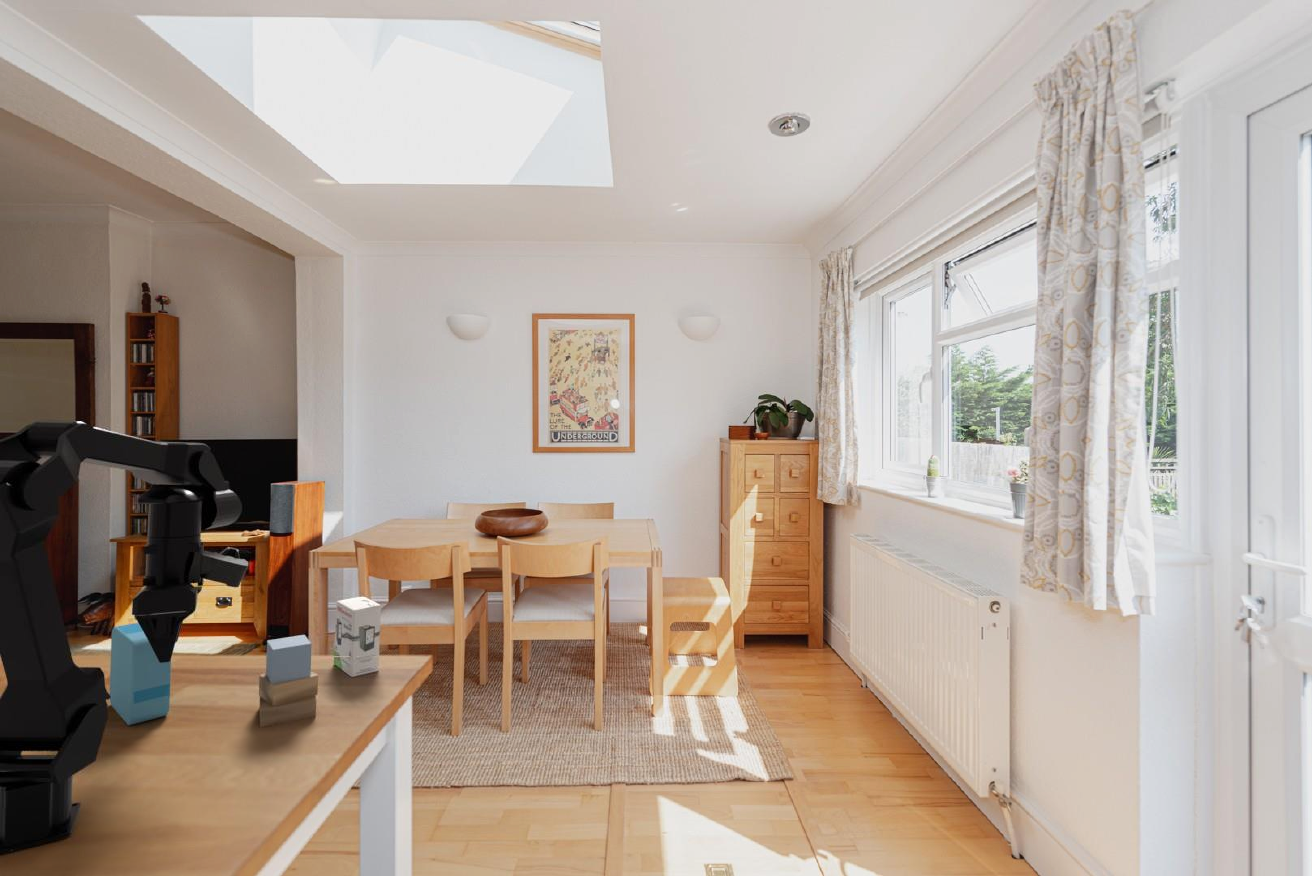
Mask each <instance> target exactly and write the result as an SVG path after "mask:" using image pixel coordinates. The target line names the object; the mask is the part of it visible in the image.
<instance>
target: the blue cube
mask: <svg viewBox="0 0 1312 876" xmlns="http://www.w3.org/2000/svg"><path fill="white" fill-rule="evenodd" d="M265 659H266V661H265V663H266V664H265V674H266V675H267V677H268V678H269V680H270V682H271V684H276V683H281V682H286V681H291V680H296V679H301V678H306V677H310V676H311V671H312V670H311V668H312V642H311V640H310V639H308V637H307V636H306V635H305V634H300V635H294V636H288V637H287V636H286V637H282V638H281V637H280V638H276V639H275V638H274V639H268V640H266V658H265Z"/></svg>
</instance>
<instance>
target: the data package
mask: <svg viewBox="0 0 1312 876" xmlns="http://www.w3.org/2000/svg"><path fill="white" fill-rule="evenodd" d="M110 638H111V641H110V642H111V645H110V668H109V669H110V670H109V671H110V673H109V695H110V696H111V698H110V699H109V703H110V706H111V707H112V708H113V709H114V711H115V712H116V713H117V714H118V715H119V716H120V718H121V719H122V720H123V721H124V722H125V724H127V725H128V726H132V725H135V724H140V723H143V722H146V721H152V720H155V719H157V718H162V717H165V716H168V714H169V712H170V707H171V706H170V703H171V702H170V701H171V678H172V677H171V676H172V675H171V673H172V671H171V670H172V669H171V667H172V659H171V660H170V661H169V662H165V663H160V662H159V660H158V658H157V657H156V655H155V653H154V651H153V649H152V647H151V645H150V643H149V641H148V639H147V637H146V636H145V634H144V632H143V630H142V628H141V627H140V625H139V623H138V622H136V623H130V624H124V625H123V624H122V625H118V626H114V627H113V628H112V630H111V637H110Z"/></svg>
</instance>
